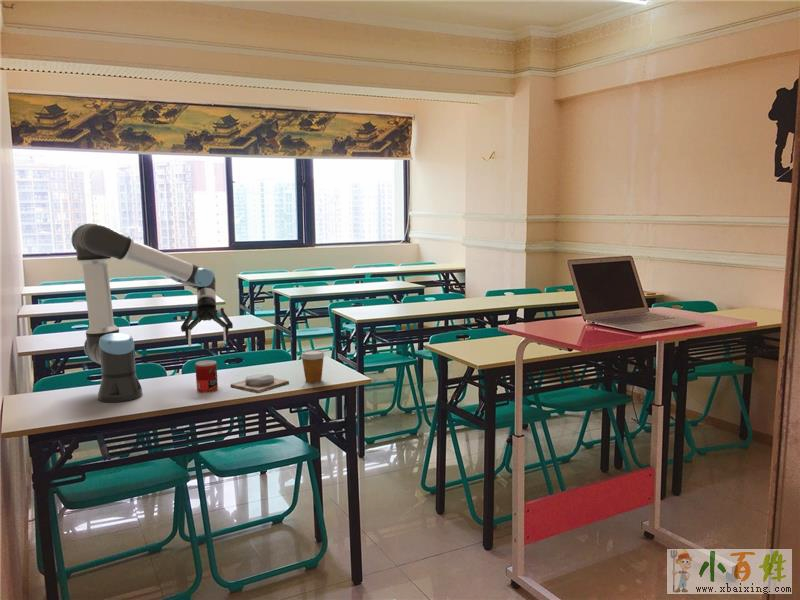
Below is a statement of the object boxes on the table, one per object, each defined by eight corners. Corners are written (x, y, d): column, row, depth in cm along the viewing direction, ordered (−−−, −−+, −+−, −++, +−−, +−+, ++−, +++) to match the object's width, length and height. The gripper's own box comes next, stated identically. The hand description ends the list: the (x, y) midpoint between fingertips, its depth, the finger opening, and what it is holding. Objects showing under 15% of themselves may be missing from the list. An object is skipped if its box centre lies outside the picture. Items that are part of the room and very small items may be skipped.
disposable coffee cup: (323, 384, 249) (322, 354, 247) (299, 384, 249) (298, 354, 248) (326, 378, 258) (326, 349, 257) (303, 378, 259) (302, 349, 257)
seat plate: (230, 386, 247) (230, 379, 247) (261, 378, 260) (261, 370, 260) (258, 392, 238) (257, 385, 238) (288, 383, 251) (288, 376, 250)
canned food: (212, 393, 239) (211, 364, 237) (193, 392, 240) (191, 364, 239) (221, 387, 246) (219, 360, 245) (202, 387, 247) (200, 359, 246)
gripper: (237, 304, 270) (239, 345, 258) (176, 308, 264) (175, 350, 251) (236, 294, 264) (239, 335, 252) (174, 297, 258) (173, 340, 246)
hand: (207, 343), depth 252 cm, fingers open, 13 cm apart
